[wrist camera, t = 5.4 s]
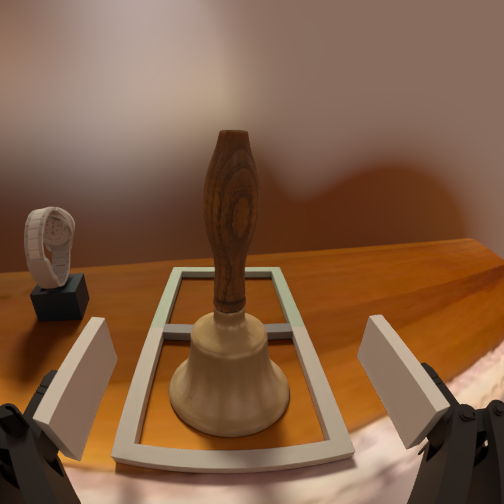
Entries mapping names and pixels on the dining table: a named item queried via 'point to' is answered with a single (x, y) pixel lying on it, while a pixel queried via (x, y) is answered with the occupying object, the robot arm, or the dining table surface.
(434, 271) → the dining table surface
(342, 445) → the window frame
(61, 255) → the watch
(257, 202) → the hand bell
